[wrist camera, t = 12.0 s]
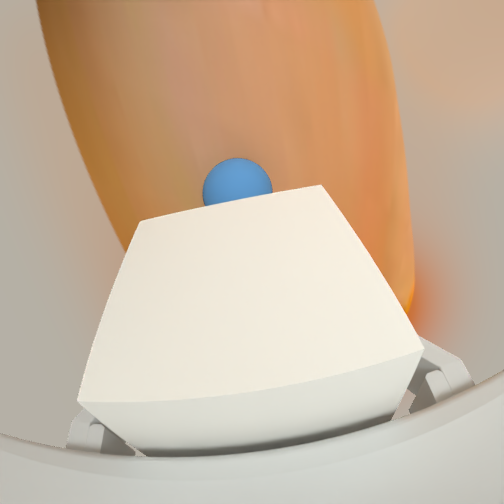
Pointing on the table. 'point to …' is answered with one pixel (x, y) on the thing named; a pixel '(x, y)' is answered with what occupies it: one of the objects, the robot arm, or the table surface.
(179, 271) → the matte ivory cube
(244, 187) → the ball
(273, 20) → the table surface
